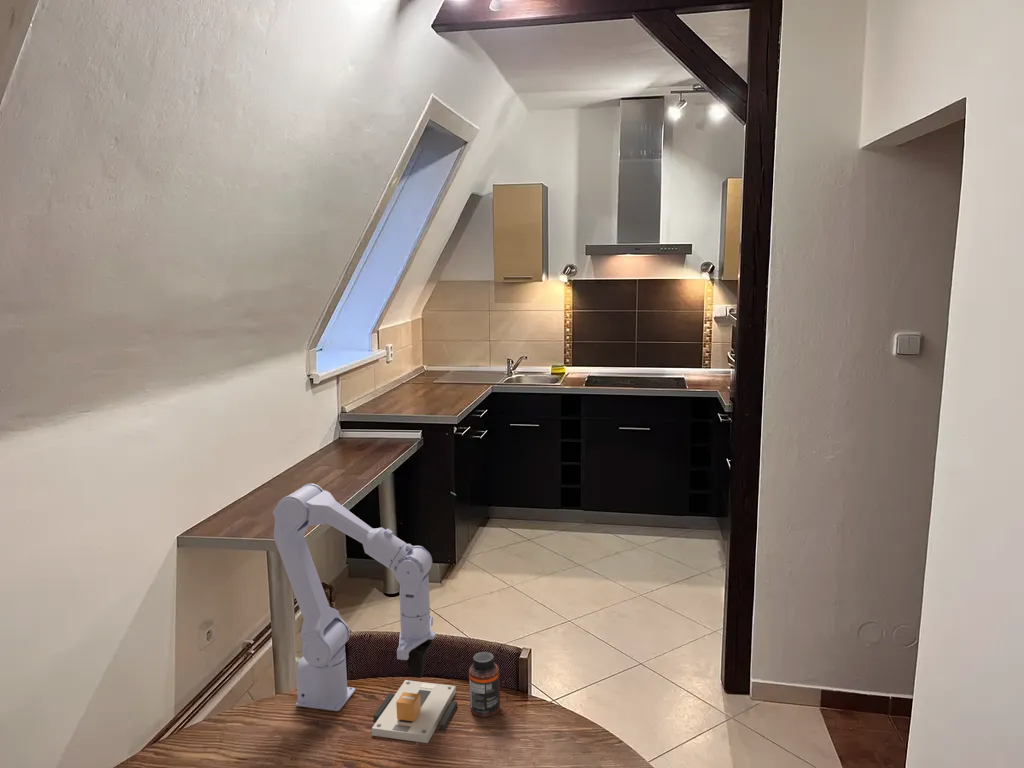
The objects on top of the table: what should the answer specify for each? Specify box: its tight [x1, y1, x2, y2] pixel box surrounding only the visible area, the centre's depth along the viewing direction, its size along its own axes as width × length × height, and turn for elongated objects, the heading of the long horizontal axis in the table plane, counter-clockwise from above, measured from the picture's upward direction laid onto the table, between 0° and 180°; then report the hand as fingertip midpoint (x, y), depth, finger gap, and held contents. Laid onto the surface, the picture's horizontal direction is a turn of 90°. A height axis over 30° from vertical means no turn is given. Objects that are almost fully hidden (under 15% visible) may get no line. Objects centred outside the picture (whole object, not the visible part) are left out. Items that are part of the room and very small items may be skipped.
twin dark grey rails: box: [372, 692, 458, 731], centre depth 149 cm, size 14×8×1 cm, turn 77°
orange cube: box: [396, 692, 421, 721], centre depth 145 cm, size 4×4×4 cm
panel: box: [371, 679, 457, 744], centre depth 149 cm, size 11×17×2 cm, turn 166°
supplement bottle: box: [468, 651, 501, 718], centre depth 149 cm, size 6×6×11 cm
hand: (416, 675), depth 149 cm, fingers closed
